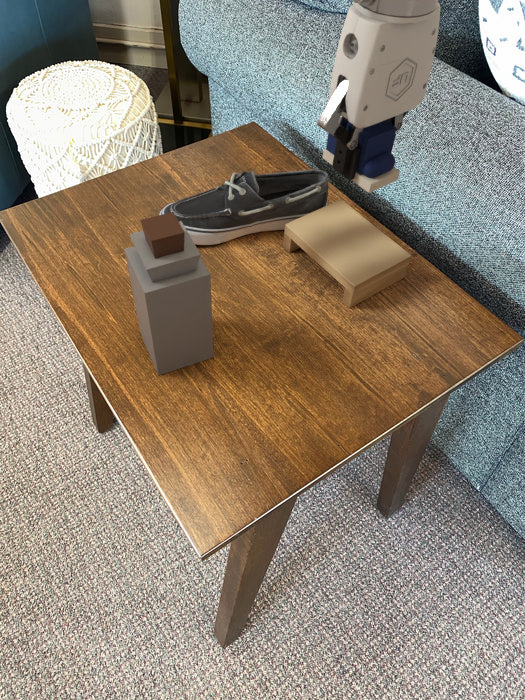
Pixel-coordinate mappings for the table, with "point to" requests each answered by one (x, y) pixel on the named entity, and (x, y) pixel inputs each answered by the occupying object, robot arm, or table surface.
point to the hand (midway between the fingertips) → (360, 164)
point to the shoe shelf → (348, 250)
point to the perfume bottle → (170, 294)
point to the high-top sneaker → (371, 156)
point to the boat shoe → (250, 204)
